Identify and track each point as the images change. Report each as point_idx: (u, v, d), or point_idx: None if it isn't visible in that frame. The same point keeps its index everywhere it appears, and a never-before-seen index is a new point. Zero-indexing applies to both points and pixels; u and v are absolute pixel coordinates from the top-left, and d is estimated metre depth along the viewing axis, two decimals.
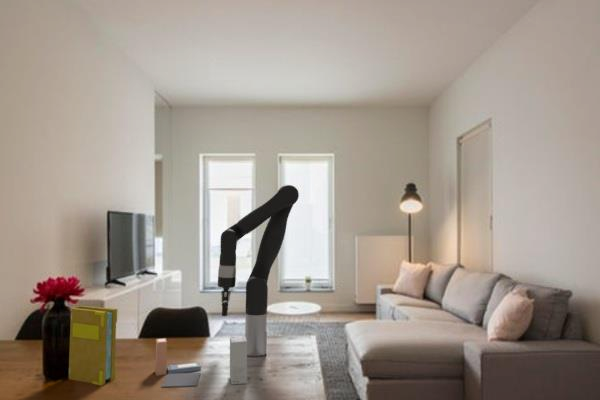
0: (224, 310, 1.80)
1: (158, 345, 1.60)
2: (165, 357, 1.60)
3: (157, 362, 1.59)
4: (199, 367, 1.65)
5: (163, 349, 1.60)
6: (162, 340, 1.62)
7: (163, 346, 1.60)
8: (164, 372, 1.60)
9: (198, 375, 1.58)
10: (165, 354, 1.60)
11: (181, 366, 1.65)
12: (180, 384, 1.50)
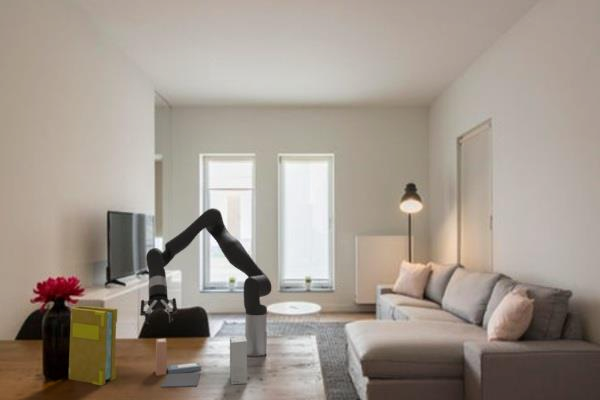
0: (172, 316, 1.77)
1: (158, 345, 1.60)
2: (165, 357, 1.60)
3: (157, 362, 1.59)
4: (199, 367, 1.65)
5: (163, 349, 1.60)
6: (162, 340, 1.62)
7: (163, 346, 1.60)
8: (164, 372, 1.60)
9: (198, 375, 1.58)
10: (165, 354, 1.60)
11: (181, 366, 1.65)
12: (180, 384, 1.50)
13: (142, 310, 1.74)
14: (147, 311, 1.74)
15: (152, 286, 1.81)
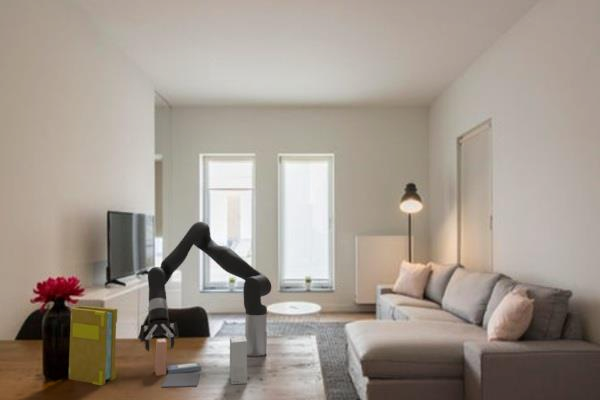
0: (173, 341, 1.69)
1: (158, 345, 1.60)
2: (165, 357, 1.60)
3: (157, 362, 1.59)
4: (199, 367, 1.65)
5: (163, 349, 1.60)
6: (162, 340, 1.62)
7: (163, 346, 1.60)
8: (164, 372, 1.60)
9: (198, 375, 1.58)
10: (165, 354, 1.60)
11: (181, 366, 1.65)
12: (180, 384, 1.50)
13: (142, 336, 1.66)
14: (147, 337, 1.66)
15: (152, 309, 1.73)
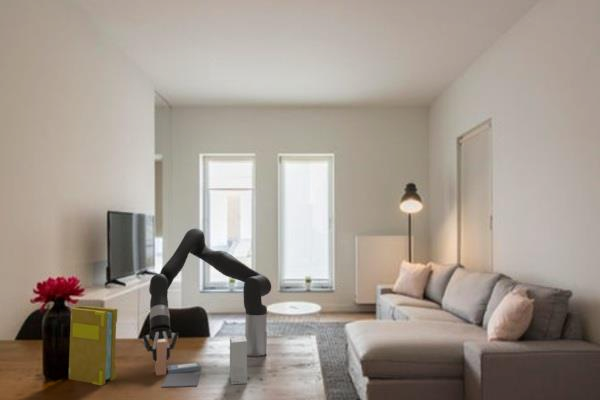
0: (169, 352, 1.63)
1: (158, 345, 1.60)
2: (165, 357, 1.60)
3: (157, 362, 1.59)
4: (199, 367, 1.65)
5: (163, 349, 1.60)
6: (162, 340, 1.62)
7: (163, 346, 1.60)
8: (164, 372, 1.60)
9: (198, 375, 1.58)
10: (165, 354, 1.60)
11: (181, 366, 1.65)
12: (180, 384, 1.50)
13: (149, 345, 1.62)
14: (154, 346, 1.62)
15: (154, 316, 1.69)
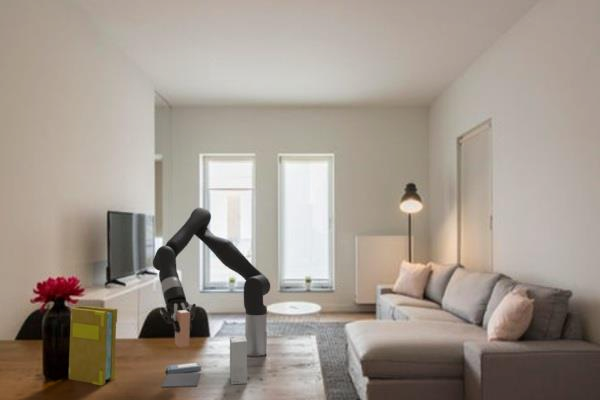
0: None
1: (181, 316, 1.53)
2: (188, 328, 1.55)
3: (180, 333, 1.53)
4: (199, 367, 1.65)
5: (186, 320, 1.54)
6: (184, 311, 1.56)
7: (186, 317, 1.54)
8: (187, 344, 1.54)
9: (198, 375, 1.58)
10: (188, 325, 1.55)
11: (181, 366, 1.65)
12: (180, 384, 1.50)
13: (170, 317, 1.54)
14: (175, 318, 1.55)
15: (169, 288, 1.61)
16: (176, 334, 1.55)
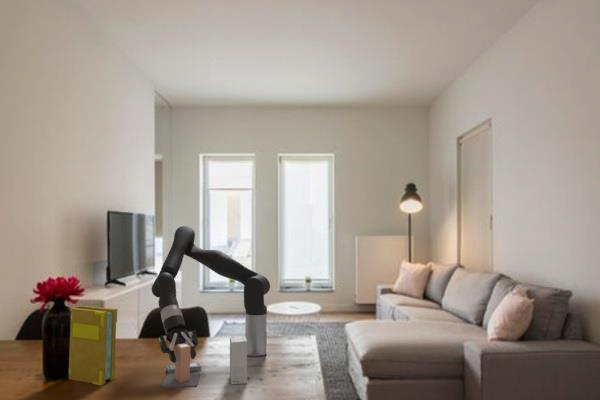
0: None
1: (182, 350, 1.52)
2: (189, 362, 1.54)
3: (181, 368, 1.52)
4: (199, 367, 1.65)
5: (187, 354, 1.54)
6: (184, 345, 1.55)
7: (187, 351, 1.54)
8: (188, 378, 1.54)
9: (198, 375, 1.58)
10: (189, 359, 1.54)
11: None
12: (180, 384, 1.50)
13: (166, 347, 1.53)
14: (171, 347, 1.53)
15: (169, 317, 1.60)
16: (176, 368, 1.55)
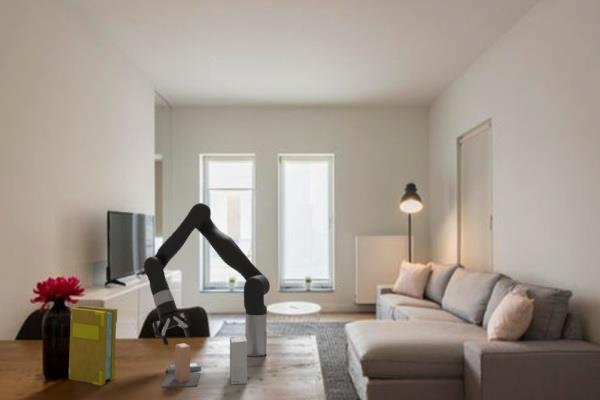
0: None
1: (182, 350, 1.52)
2: (189, 362, 1.54)
3: (181, 368, 1.52)
4: (199, 367, 1.65)
5: (187, 354, 1.54)
6: (184, 345, 1.55)
7: (187, 351, 1.54)
8: (188, 378, 1.54)
9: (198, 375, 1.58)
10: (189, 359, 1.54)
11: None
12: (180, 384, 1.50)
13: (158, 333, 1.68)
14: (163, 333, 1.69)
15: (161, 304, 1.72)
16: (176, 368, 1.55)
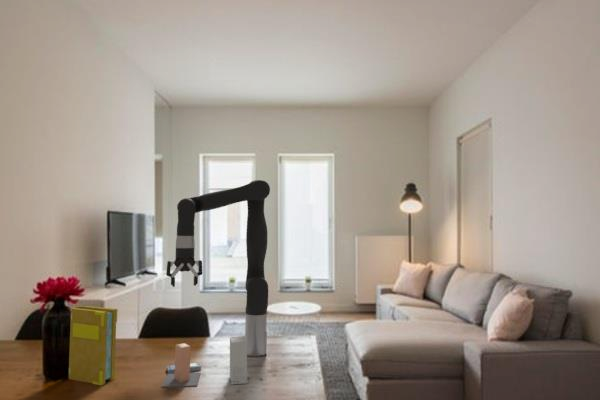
0: None
1: (182, 350, 1.52)
2: (189, 362, 1.54)
3: (181, 368, 1.52)
4: (199, 367, 1.65)
5: (187, 354, 1.54)
6: (184, 345, 1.55)
7: (187, 351, 1.54)
8: (188, 378, 1.54)
9: (198, 375, 1.58)
10: (189, 359, 1.54)
11: None
12: (180, 384, 1.50)
13: (168, 273, 1.74)
14: (173, 275, 1.75)
15: (180, 248, 1.75)
16: (176, 368, 1.55)
